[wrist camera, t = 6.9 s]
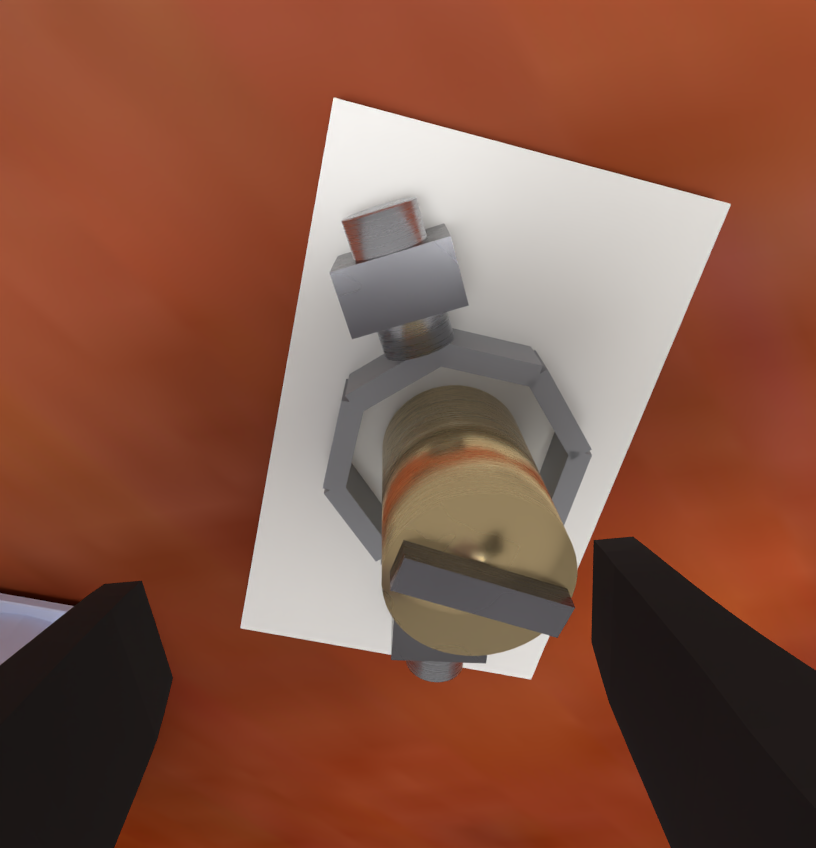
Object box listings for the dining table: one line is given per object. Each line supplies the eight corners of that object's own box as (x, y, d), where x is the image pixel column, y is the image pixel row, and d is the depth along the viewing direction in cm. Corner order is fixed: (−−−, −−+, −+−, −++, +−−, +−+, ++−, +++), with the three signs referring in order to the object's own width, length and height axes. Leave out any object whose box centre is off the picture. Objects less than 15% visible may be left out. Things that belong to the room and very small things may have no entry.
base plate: (525, 658, 23) (540, 717, 21) (246, 607, 22) (228, 664, 20) (713, 199, 17) (764, 211, 15) (337, 99, 16) (326, 93, 14)
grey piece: (468, 317, 17) (478, 341, 15) (368, 346, 18) (363, 374, 16) (434, 186, 16) (440, 194, 14) (326, 220, 16) (315, 233, 14)
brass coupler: (543, 411, 18) (621, 546, 12) (487, 525, 20) (533, 695, 14) (411, 365, 18) (425, 484, 12) (363, 487, 19) (353, 648, 13)
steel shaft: (396, 545, 20) (395, 590, 18) (486, 549, 20) (496, 595, 18) (390, 631, 21) (389, 682, 19) (475, 634, 22) (482, 686, 20)
